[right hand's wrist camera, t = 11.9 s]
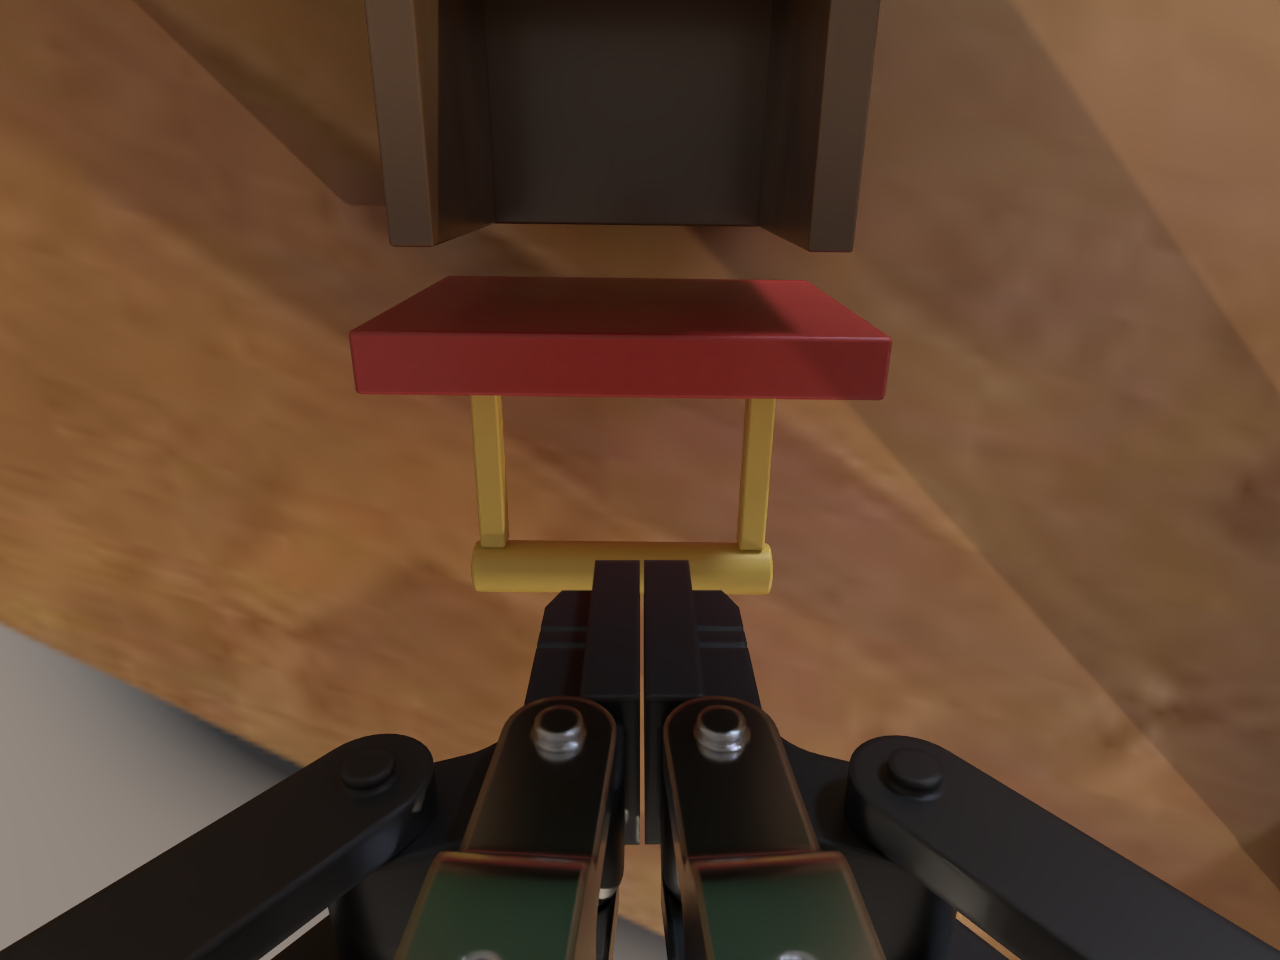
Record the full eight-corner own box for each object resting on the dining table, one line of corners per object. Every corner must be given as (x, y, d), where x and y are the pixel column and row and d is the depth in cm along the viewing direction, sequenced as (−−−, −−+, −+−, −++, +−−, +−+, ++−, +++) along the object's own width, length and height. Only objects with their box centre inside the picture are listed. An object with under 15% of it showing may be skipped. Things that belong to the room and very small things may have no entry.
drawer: (787, 508, 24) (851, 655, 17) (464, 504, 24) (387, 651, 17) (895, -680, 15) (1143, -1502, 7) (370, -690, 15) (106, -1524, 7)
